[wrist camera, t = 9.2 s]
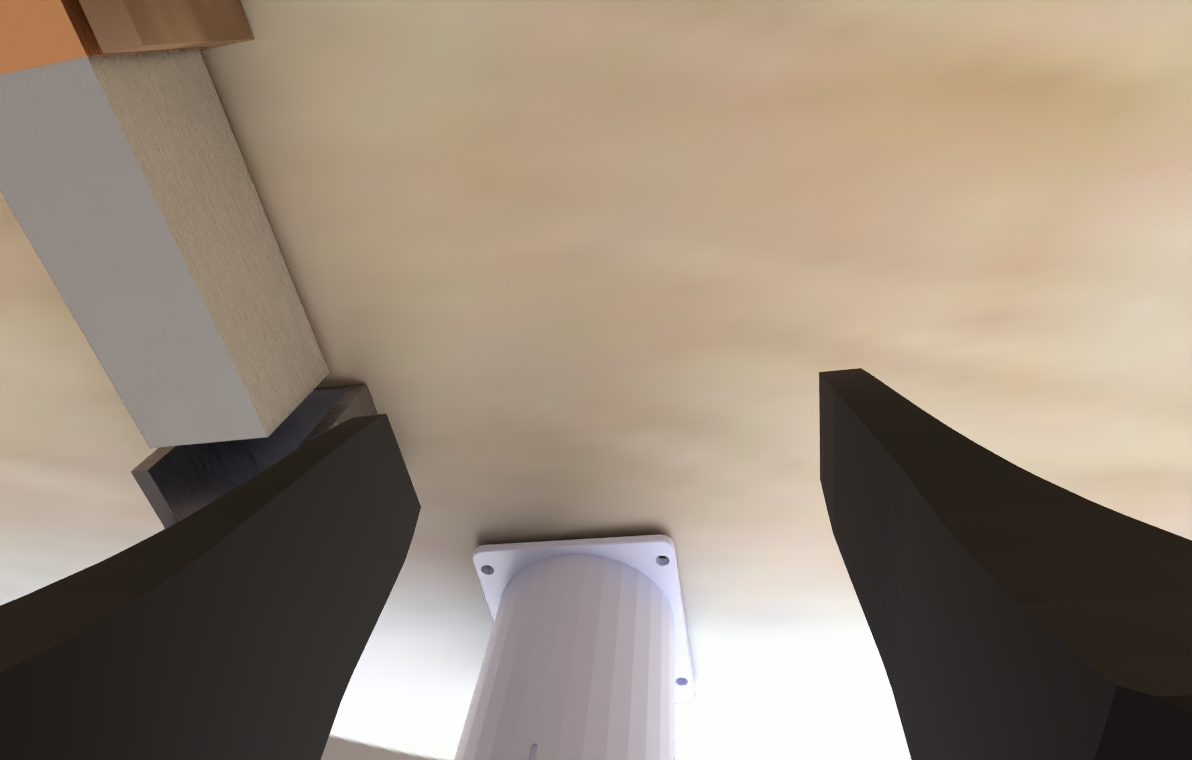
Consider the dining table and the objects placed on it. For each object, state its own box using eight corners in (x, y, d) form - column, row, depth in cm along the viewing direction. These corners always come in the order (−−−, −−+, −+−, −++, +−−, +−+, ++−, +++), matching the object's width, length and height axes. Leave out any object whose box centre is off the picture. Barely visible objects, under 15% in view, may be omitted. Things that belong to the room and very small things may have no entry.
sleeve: (404, 485, 25) (343, 592, 21) (264, 496, 26) (176, 600, 22) (366, 383, 23) (289, 477, 19) (215, 399, 24) (106, 492, 20)
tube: (331, 372, 23) (268, 437, 19) (226, 383, 24) (147, 449, 20) (171, -28, 17) (42, -39, 14) (40, 2, 18) (-116, 0, 14)
